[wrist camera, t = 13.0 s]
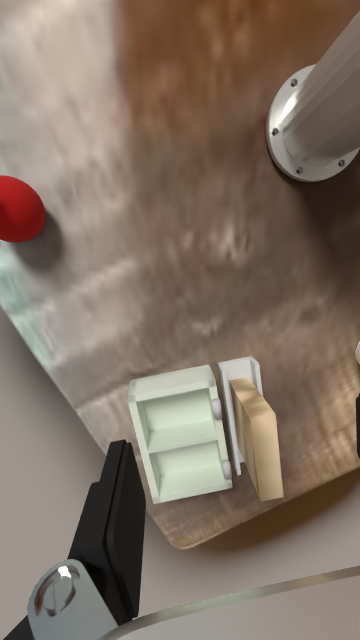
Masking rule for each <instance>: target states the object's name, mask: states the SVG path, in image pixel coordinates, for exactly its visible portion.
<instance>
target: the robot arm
mask: <svg viewBox="0 0 360 640" xmlns="http://www.w3.org/2000/svg"><path fill="white" fill-rule="evenodd" d="M272 133H273V134H274V136H273V135H272ZM266 140H267V145H268V149H269V152H270V154H271V157H272V159H273V160H274V162H275V163H276V165H277V166H278V168H279V169H280V170H281V171H282V172H283V173H285V174H286V175H288V176H289V177H291V178H293V179H295V180H298V181H302V182H319V181H322V180H325V179H328V178H330V177H332V176H334V175H336V174H337V173H339V172H341V171H342V170H343V169H344V168H345V167H347V166H348V165H349V164H350V163H351V161H352V160H353V159H354V158H355V156H356V155H357V153H358V151H359V149H360V11H359V12H358V13H357V14H356V16H355V17H354V18H353V19H352V21H351V22H350V23H349V24H348V26H347V27H346V28H345V29H344V31H343V32H342V33H341V34H340V36H339V37H338V38H337V39H336V40H335V42H334V43H333V44H332V45H331V47H330V48H329V49H328V50H327V52H326V53H325V54H324V55H323V57H322V58H321V59H320V60H319V62H318V63H317V64H315V65H311V66H308V67H305V68H303V69H301V70H299V71H298V72H296V73H295V74H294V75H292V76H291V77H290V78H289V79H288V80H287V81H286V82H285V83H284V84H283V86H282V87H281V88H280V90H279V91H278V93H277V94H276V96H275V97H274V100H273V102H272V104H271V106H270V109H269V112H268V116H267V122H266ZM296 171H297V172H298V174H297V172H296ZM356 427H357V454H358V456H359V458H360V394H359V397H357V398H356ZM145 510H146V499H145V494H144V490H143V486H142V482H141V478H140V475H139V471H138V467H137V463H136V459H135V456H134V452H133V448H132V444H131V443H130V442H129V443H127V442H126V440H125V439H124V440H119V441H114V442H111V443H110V446H109V449H108V453H107V456H106V460H105V464H104V468H103V471H102V474H101V478H100V481H99V482H95V483H92V484H91V486H90V489H89V492H88V495H87V498H86V501H85V505H84V508H83V511H82V514H81V517H80V521H79V524H78V527H77V530H76V533H75V536H74V540H73V543H72V546H71V549H70V553H69V556H68V559H67V560H64V561H62V562H59V563H57V564H56V565H54V566H53V567H52V568H50V569H49V570H48V571H47V572H46V573H45V574H44V575H43V576H42V577H41V578H40V580H39V581H38V583H37V584H36V585H35V587H34V589H33V591H32V594H31V596H30V598H29V602H28V607H27V612H28V615H27V616H26V617H25V618H24V619H23V620H22V621H21V622H20V623H19V624H18V625H17V626H16V627H15V628H14V629H13V630H12V631H11V632H10V633H9V634H8V635H7V636H6V637H5V638H4V639H3V640H360V566H357V567H352V568H347V569H343V570H337V571H333V572H328V573H324V574H319V575H314V576H309V577H305V578H301V579H296V580H291V581H287V582H282V583H277V584H273V585H268V586H264V587H259V588H255V589H250V590H246V591H241V592H236V593H232V594H228V595H223V596H218V597H214V598H210V599H206V600H202V601H198V602H194V603H190V604H186V605H182V606H177V607H173V608H169V609H165V610H162V611H159V612H155V613H152V614H149V615H146V616H142V617H140V618H137V619H135V620H132V618H135V617H137V616H138V612H139V599H140V585H141V569H142V555H143V540H144V524H145Z"/></svg>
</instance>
